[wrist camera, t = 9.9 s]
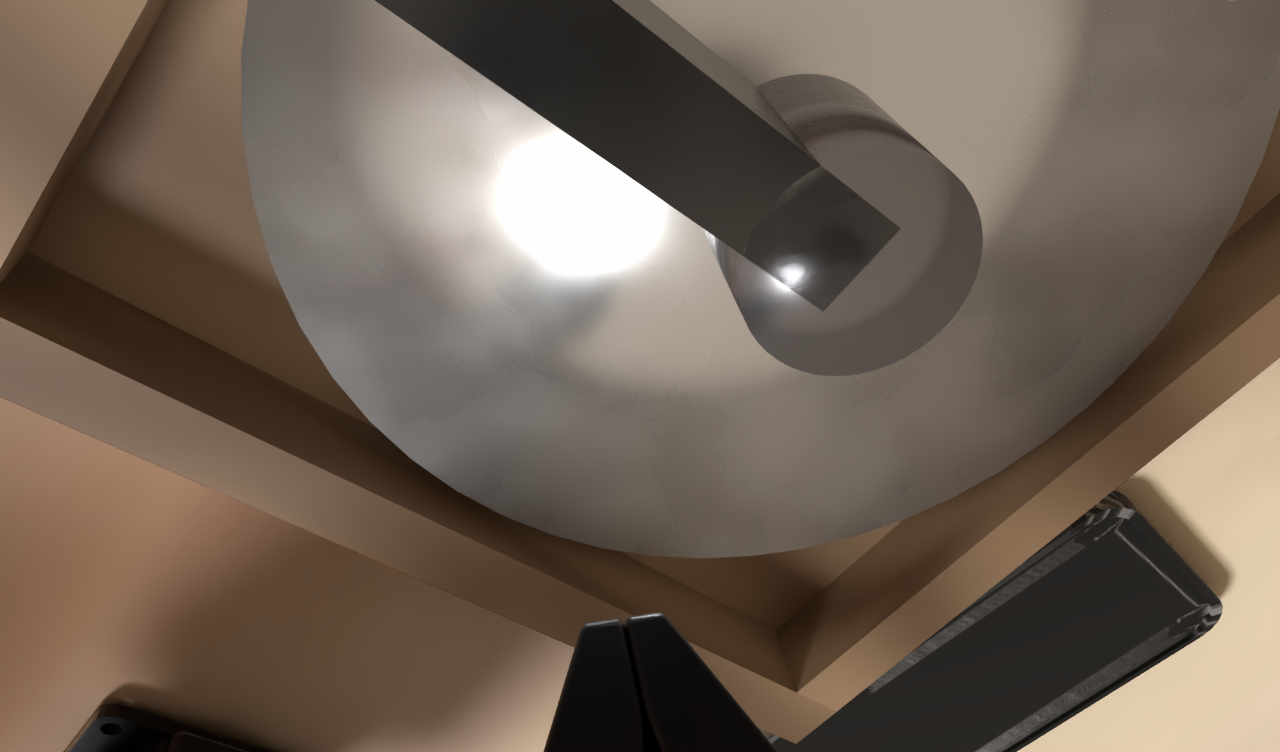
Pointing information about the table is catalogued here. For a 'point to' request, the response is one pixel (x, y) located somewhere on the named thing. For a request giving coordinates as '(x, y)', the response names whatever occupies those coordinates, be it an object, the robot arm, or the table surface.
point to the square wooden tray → (395, 484)
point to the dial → (742, 237)
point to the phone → (1033, 645)
